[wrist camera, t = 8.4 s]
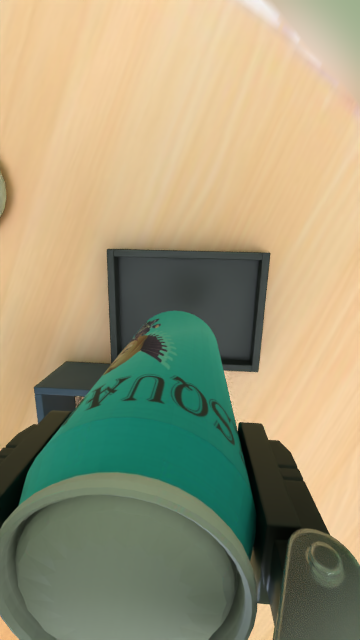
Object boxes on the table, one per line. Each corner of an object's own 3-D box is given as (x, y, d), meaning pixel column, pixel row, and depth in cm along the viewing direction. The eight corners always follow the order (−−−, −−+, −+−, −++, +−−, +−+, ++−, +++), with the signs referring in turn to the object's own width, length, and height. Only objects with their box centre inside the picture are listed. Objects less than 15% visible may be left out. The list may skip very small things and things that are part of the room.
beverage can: (177, 289, 18) (102, 407, 4) (232, 345, 19) (344, 620, 5) (123, 343, 20) (-86, 585, 5) (177, 393, 20) (129, 734, 6)
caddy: (72, 434, 37) (43, 474, 30) (65, 361, 34) (33, 387, 28) (149, 439, 36) (138, 481, 29) (149, 365, 34) (136, 392, 27)
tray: (116, 358, 34) (111, 364, 32) (112, 249, 31) (106, 248, 29) (254, 365, 33) (258, 372, 31) (265, 253, 30) (270, 252, 28)
